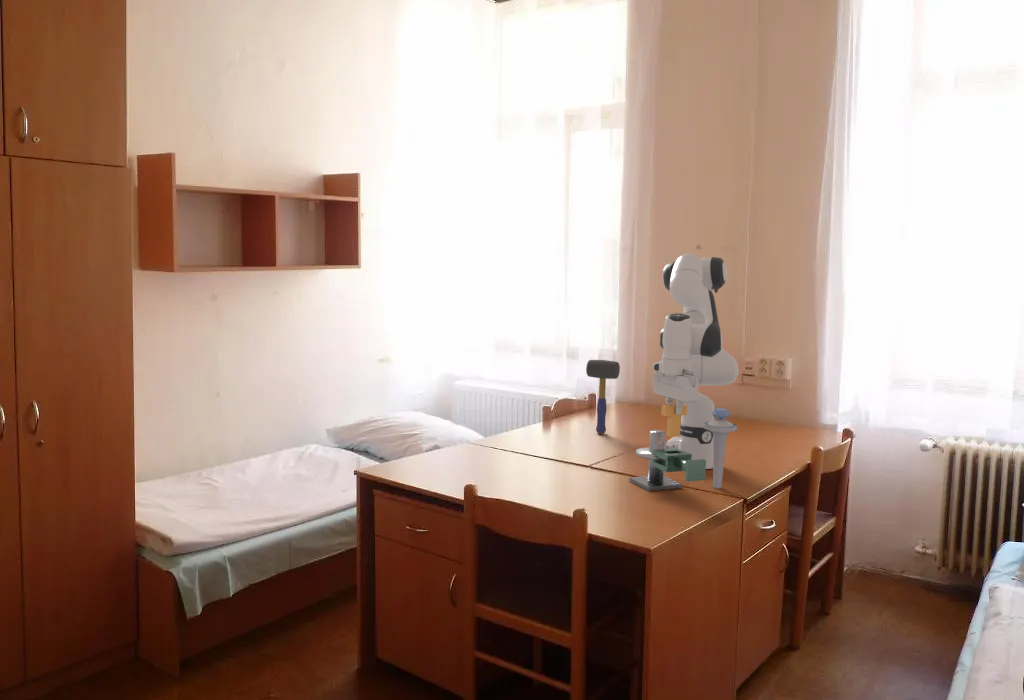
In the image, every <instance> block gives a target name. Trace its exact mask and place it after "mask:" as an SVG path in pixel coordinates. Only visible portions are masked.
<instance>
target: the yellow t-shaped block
mask: <svg viewBox="0 0 1024 700" xmlns="http://www.w3.org/2000/svg"><path fill="white" fill-rule="evenodd" d="M676 406H677V403H676V404H675V403H673V405H667V404H661V409H660V412H661V416H664V417H666V418H667V419H666V436H667V437H670V438H672V437H680V424H681V415H687V405H685V404H684V406H683V408H682V414H680V415H677V414H675V413H674V408H676Z"/></svg>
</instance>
